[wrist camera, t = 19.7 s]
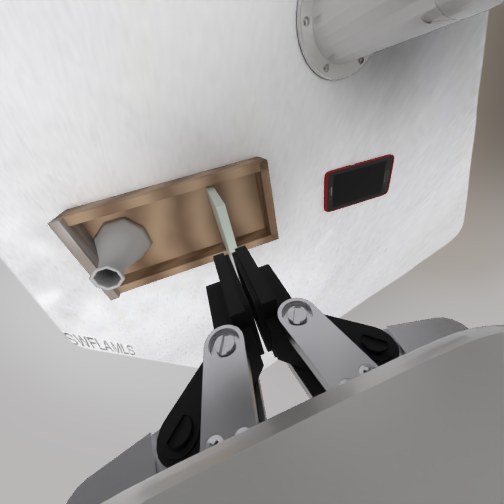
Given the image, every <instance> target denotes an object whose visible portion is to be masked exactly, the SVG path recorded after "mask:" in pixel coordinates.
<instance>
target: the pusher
mask: <svg viewBox="0 0 504 504" xmlns="http://www.w3.org/2000/svg"><path fill="white" fill-rule="evenodd" d="M205 188H206V191H207V194H208V197H209V200H210V203H211V206H212V209H213V213H214V216H215V219H216V222H217V225H218V228H219V231H220V234H221V237H222V240H223V243H224V245H225V248H226V250H227V253H228V254H229V257H230V259H231V262H232V264H233V266H234V269H235V271H236V274H237V276H238V273H237V270H236V266H235V263H234V260H233V257H232V253H233V252H235V249H236V248H237V245H236V242H235V238H234V234H233V231H232V227H231V224H230V220H229V217H228V213H227V210H226V206H225V204H224V202H223V201H222V199H221V198H220V196H219V195H218V193H217V191H216V190H215V188H214V187H213V185H211V186H207V187H205ZM238 278H239V276H238Z"/></svg>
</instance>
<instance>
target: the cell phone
mask: <svg viewBox="0 0 504 504" xmlns="http://www.w3.org/2000/svg"><path fill="white" fill-rule="evenodd" d="M393 163H394V156H393V155H385V156H382V157H378V158H375V159H371V160H367V161H364V162H360V163H357V164H355V165H352V166H351V165H349V166H346V167H342V168H339V169H335V170H332V171H329V172H327V173H326V174H325V178H324V210H325V211H327V212H330V211H334V210H337V209H338V208H339V209H341V207H342V208H344V206H345V207H347V206H350V205H353V204H356V203H360V202H363V201H366V200H369V199H372V198H375V197H379V196H382V195H384V194H386V193H387V192H388V189H389V184H390V179H391V173H392V168H393Z"/></svg>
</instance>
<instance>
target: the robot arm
mask: <svg viewBox="0 0 504 504" xmlns="http://www.w3.org/2000/svg"><path fill="white" fill-rule="evenodd" d="M503 2H504V0H298V9H297V31H298V37H299V43H300V46H301V50H302V53H303V55H304V57H305V59H306V61H307V63H308V65H309V66H310V67H311V69H312V70H313V71H314V72H315V73H316V74H318V75H319V76H321V77H323V78H325V79H329V80H339V79H343V78H346V77H348V76H350V75H352V74H354V73H355V72H357V71H358V70H359V69H360V68H361V67H362V66H363V65H364V64H365V63H366V62H367V61H368V59H369V58H370V56H371V55H372V53H375V52H377V51H380V50H383V49H385V48H388V47H391V46H393V45H396V44H399V43H401V42H404V41H407V40H409V39H412V38H415V37H417V36H420V35H423V34H425V33H428V32H431V31H433V30H436V29H439V28H441V27H444V26H447V25H449V24H452V23H455V22H457V21H460V20H463V19H465V18H469V17H471V16H474V15H476V14H479V13H482V12H484V11H487V10H489V9H491V8H493V7H495V6H497V5H499V4H501V3H503ZM303 22H304V24H303ZM232 257H233V260H234V263H235V266H236V270H237V273H238V276H239V278H238V276H237V274H236V271H235V269H234V266H233V264H232V262H231V259H230V257H229V254H227V255H224V253H221V254H218V255H215V256H213V259H214V262H215V265H216V269H217V272H218V276H219V279H220V282H217V283H214V284H212V285H209V286H206V290H207V295H208V300H209V305H210V311H211V316H212V321H213V326H214V330H213V331H212V332H211V333H210V334H209V335H208V337H207V339H206V341H205V344H204V355H203V363H202V364H201V366H200V367H199V369H198V370H197V372H196V373H195V375H194V376H193V378H192V379H191V381H190V383H189V384H188V386H187V387H186V389H185V390H184V392H183V393H182V395H181V396H180V398H179V399H178V401H177V403H176V404H175V405H174V407H173V409H172V410H171V412H170V413H169V415H168V416H167V418H166V420H165V421H164V423H163V425H162V427H161V428H160V430H158V431H157V432H156V433H154V434H152V433H149V434H148V435H146V436H145V437H144V438H142V439H141V440H140V441H138V442H137V443H135V444H134V445H133V446H131V447H130V448H129V449H127V450H126V451H124V452H123V453H122V454H120V455H119V456H118V457H116V458H115V459H114V460H112V461H111V462H109V463H108V464H107V465H105V466H104V467H102V468H101V469H100V470H98V471H97V472H96V473H94V474H93V475H91V476H90V477H89V478H87V479H86V480H85V481H84V482H83V483H82V484H81V485H80V486H79V487H78V488H77V489H76V490H75V492H74V493H73V495H72V496H71V497H70V498H69V500H68V502H67V504H504V325H494V326H482V327H476V328H471V329H468V328H467V327H465V326H464V325H463V324H461V323H459V322H457V321H454V320H452V319H447V318H432V319H426V320H420V321H415V322H409V323H403V324H398V325H392V326H387V327H386V329H384V330H381V329H378V328H376V327H372V326H368V325H364V324H360V323H356V322H352V321H348V320H344V319H340V318H336V317H332V316H328V315H324V314H323V313H322V312H321V311H320V310H319V309H318V308H317V307H316V306H314V305H313V304H312V303H311V302H310V301H308V300H305V299H303V298H291V297H290V295H289V294H288V292H287V291H286V289H285V288H284V286H283V285H282V283H281V282H280V280H279V279H278V277H277V276H276V274H275V273H274V272H273V270H272V269H271V267H270V266H269V265H268V264H267V265H264V266H261V267H259V268H258V267H257V265H256V263H255V262H254V260H253V258H252V256H251V255H250V253H249V251H248V250H247V248H246V246H242V247H239V248H236V249H235V252H233V253H232ZM239 279H240V281H239ZM255 322H256V324H257V327H258V329H259V332H260V334H261V337H262V339H263V341H264V344H265V346H266V349H267V351H268V352H269V351H273V354H274V356H275V357H277V358H278V359H279V360H281V361H284V362H286V363H287V364H288V366H289V368H290V369H291V371H292V372H293V374H294V375H295V377H296V378H297V380H298V381H299V383H300V384H301V386H302V387H303V389H304V390H305V392H306V394H307V395H308V397H309V398H310V399H309V400H307V401H305V402H303V403H301V404H299V405H297V406H295V407H293V408H291V409H288V410H287V411H284V412H282V413H280V414H278V415H276V416H274V417H272V418H270V419H268V420H267V419H266V413H265V407H264V401H263V396H262V391H261V385H260V380H259V375H260V373H261V371H262V368H263V366H264V365H263V362H262V359H261V356H260V355H262V354H264V351H263V347H262V344H261V341H260V337H259V334H258V330H257V327H256V324H255Z"/></svg>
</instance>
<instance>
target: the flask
mask: <svg viewBox="0 0 504 504" xmlns="http://www.w3.org/2000/svg"><path fill="white" fill-rule="evenodd" d="M94 242H95V245H96V248H97V253H98V258H99V264H98V268H96V269H95V270H94V271H93V273H92V274H91V276H90V277H89V279H90V280H91V282H92V283H93V284H94V285H95V286H96V287H98V288H101V289H104V290H107V291H109V290H112V289H115V288H118V287H120V285H121V284H122V282H123V281H124V280H125V276H124V275H123V274H124V271H125V270H126V269H127V268H128V267H129V266H130V265H132V264H133V263H134V262H136V261H137V260H139V259H140V258H142V257H143V256H144V255H145V253H146V252H147V250H148V249H149V247H150V246H151V245H152V241H151V239H150V237H149V235H148V233H147V232H146V230H145V228H144V227H143V226H141V225H139V224H137V223H135V222H134V221H132V220H130V219H128V218H126V217H121V218H118V219H114V220H111V221H107V222H104V223H103V224H102V225H101V227H100V229H99V230H98V232H97V234H96V235H95V237H94Z"/></svg>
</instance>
